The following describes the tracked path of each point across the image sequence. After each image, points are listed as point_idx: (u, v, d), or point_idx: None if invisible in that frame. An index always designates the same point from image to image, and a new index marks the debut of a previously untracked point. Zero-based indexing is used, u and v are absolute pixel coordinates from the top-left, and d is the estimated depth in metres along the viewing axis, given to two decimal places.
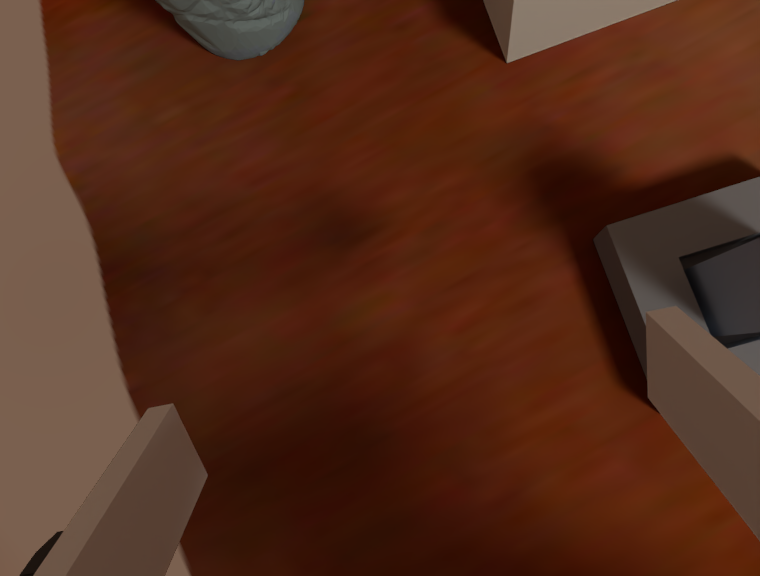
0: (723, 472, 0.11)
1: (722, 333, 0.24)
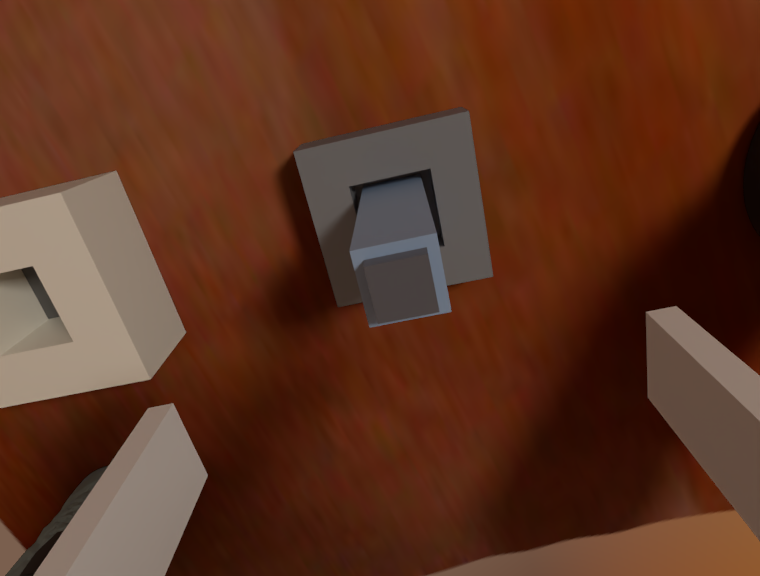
0: (723, 472, 0.11)
1: None
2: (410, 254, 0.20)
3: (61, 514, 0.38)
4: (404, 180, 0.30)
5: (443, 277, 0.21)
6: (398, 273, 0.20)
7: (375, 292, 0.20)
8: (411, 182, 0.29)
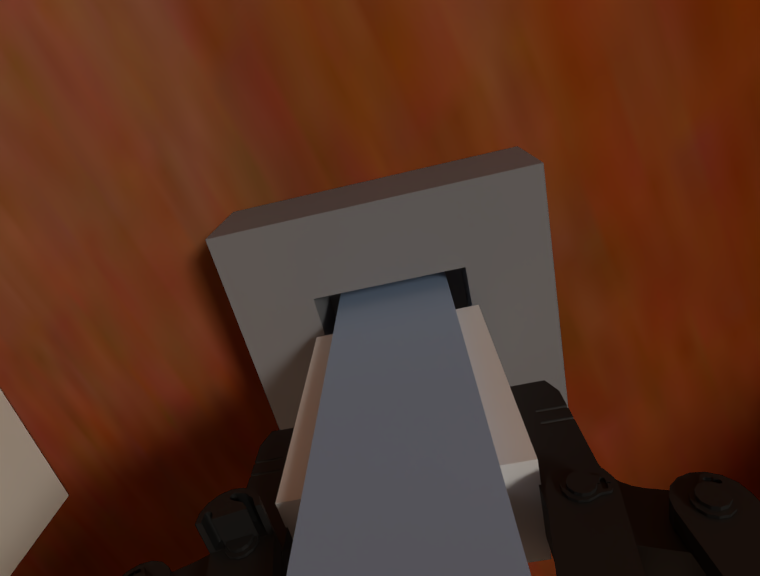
0: None
1: None
2: None
3: None
4: (415, 280, 0.17)
5: None
6: None
7: None
8: (429, 290, 0.16)
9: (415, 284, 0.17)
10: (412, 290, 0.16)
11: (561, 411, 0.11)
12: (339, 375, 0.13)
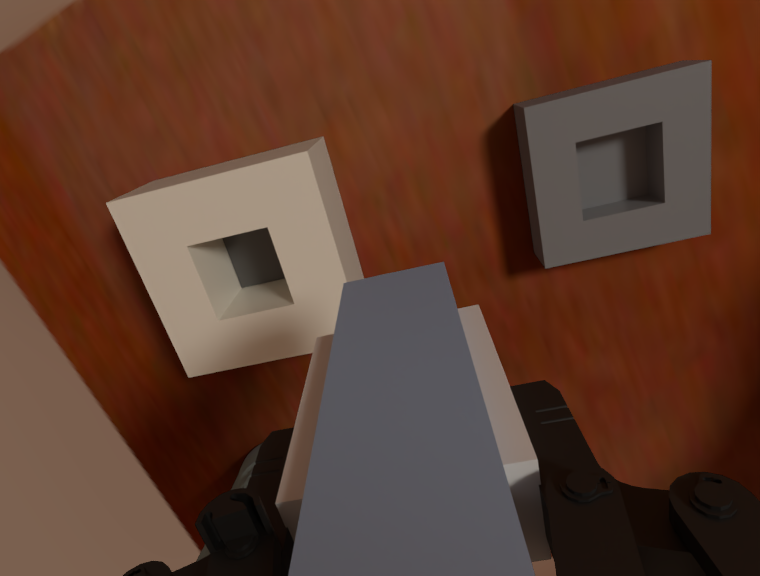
0: None
1: None
2: None
3: (246, 483, 0.38)
4: (417, 279, 0.17)
5: None
6: None
7: None
8: (431, 289, 0.16)
9: (416, 283, 0.16)
10: (413, 289, 0.16)
11: (561, 411, 0.11)
12: (340, 374, 0.13)
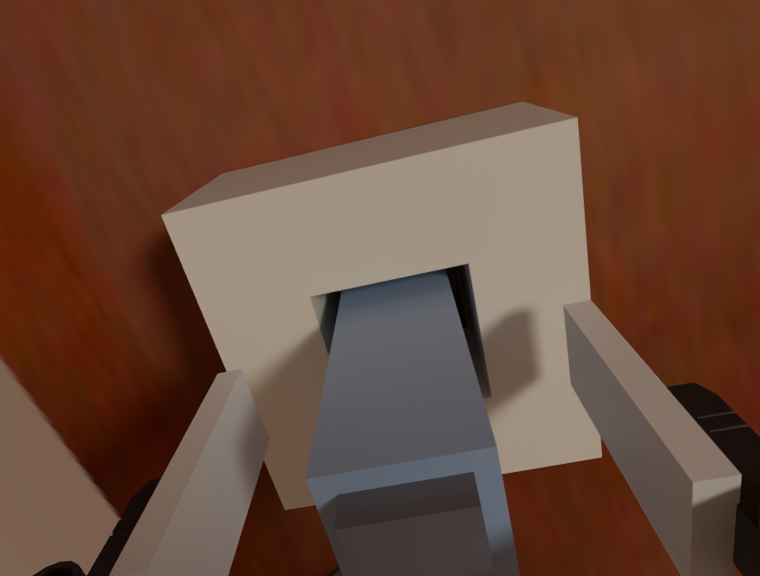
0: (617, 447, 0.12)
1: None
2: (439, 498, 0.09)
3: None
4: None
5: (506, 523, 0.10)
6: (412, 539, 0.09)
7: (362, 573, 0.09)
8: None
9: None
10: None
11: (729, 418, 0.10)
12: (347, 322, 0.15)
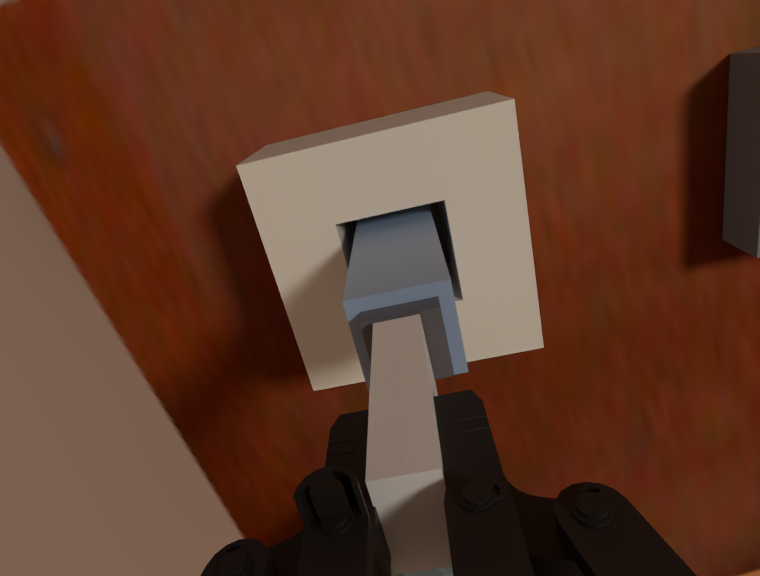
0: None
1: None
2: (418, 307, 0.16)
3: None
4: None
5: (458, 332, 0.17)
6: None
7: None
8: None
9: None
10: None
11: (479, 421, 0.12)
12: (362, 239, 0.22)
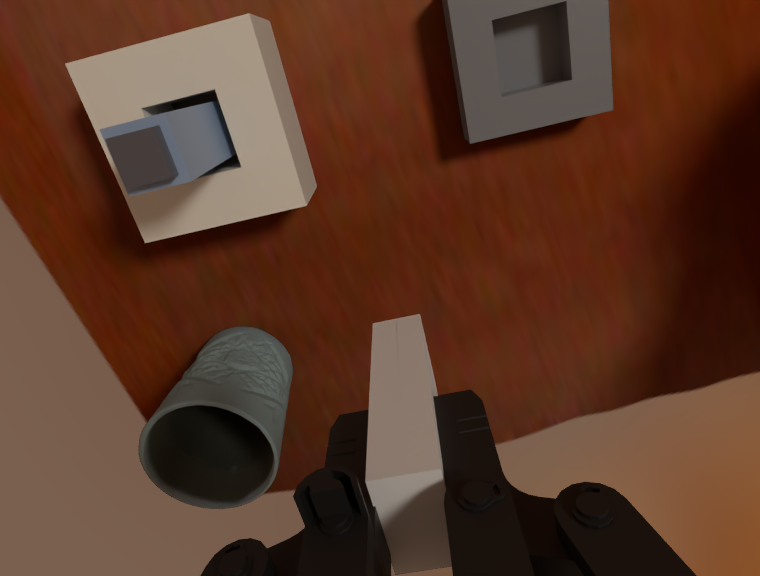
0: None
1: None
2: (142, 129, 0.26)
3: (202, 357, 0.41)
4: None
5: (178, 151, 0.26)
6: (133, 143, 0.26)
7: (118, 161, 0.26)
8: None
9: None
10: None
11: (479, 421, 0.12)
12: None
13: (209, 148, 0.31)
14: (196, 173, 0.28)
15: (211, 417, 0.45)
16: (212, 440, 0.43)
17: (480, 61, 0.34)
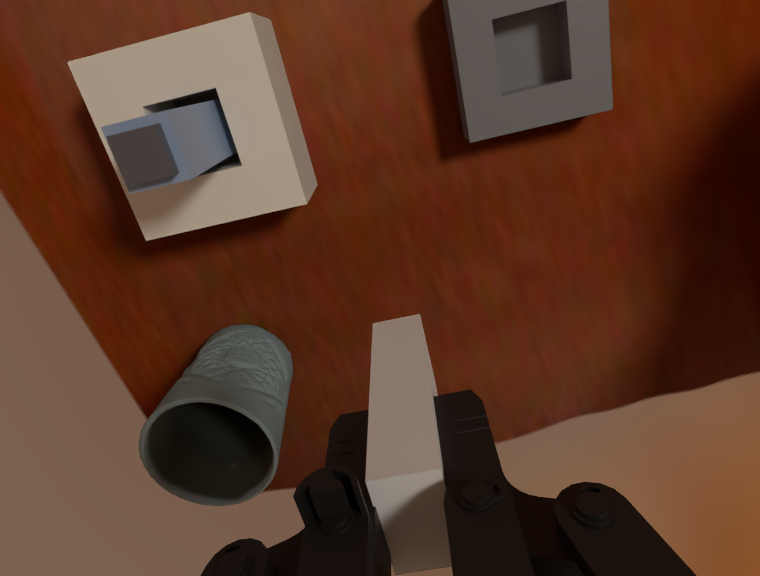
0: None
1: None
2: (143, 127, 0.26)
3: (202, 355, 0.41)
4: None
5: (178, 149, 0.27)
6: (134, 141, 0.26)
7: (119, 158, 0.26)
8: None
9: None
10: None
11: (479, 421, 0.12)
12: None
13: (209, 146, 0.31)
14: (197, 171, 0.28)
15: (211, 415, 0.45)
16: (213, 438, 0.44)
17: (480, 60, 0.34)
